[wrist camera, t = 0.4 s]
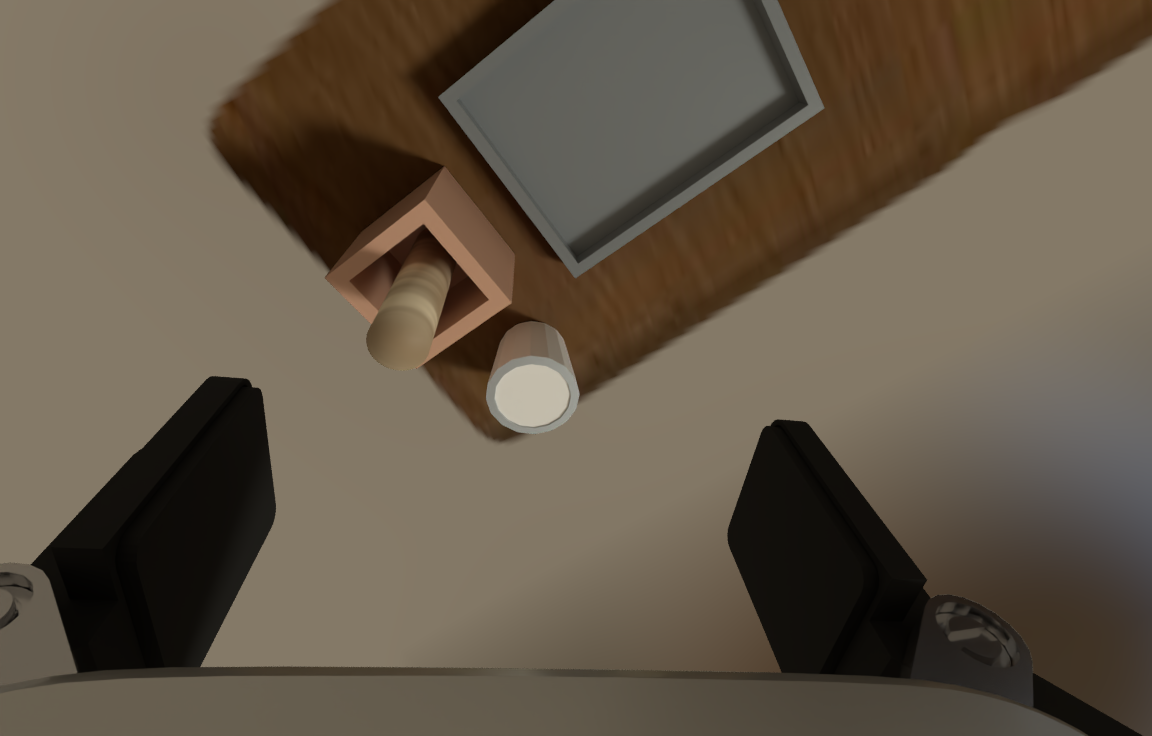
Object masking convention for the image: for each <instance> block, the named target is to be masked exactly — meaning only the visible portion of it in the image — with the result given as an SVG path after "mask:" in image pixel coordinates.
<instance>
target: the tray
mask: <svg viewBox="0 0 1152 736" xmlns="http://www.w3.org/2000/svg"><path fill="white" fill-rule="evenodd" d="M438 98H439V99H440V100H441V102H442V103H443V104H444V106H445V107H446V108H447V110H448V111H449V112H450V114H451V115H452V116H453V117H454V119H455V120H456V121H457V123H458V124H459V125H460V127H461V128H462V129H463V131H464V132H465V133H466V135H467V136H468V137H469V139H470V140H471V141H472V143H473V144H474V145H475V147H476V148H477V149H478V150H479V152H480V153H481V154H482V156H483V157H484V158H485V160H486V161H487V162H488V164H489V165H490V166H491V168H492V169H493V170H494V172H495V173H496V174H497V176H498V177H499V178H500V180H501V181H502V182H503V183H504V185H505V186H506V187H507V189H508V190H509V191H510V193H511V194H512V195H513V197H514V198H515V199H516V201H517V202H518V203H519V205H520V206H521V207H522V209H523V210H524V211H525V213H526V214H527V215H528V216H529V218H530V219H531V220H532V222H533V223H534V224H535V226H536V227H537V228H538V230H539V231H540V232H541V234H542V235H543V236H544V238H545V239H546V240H547V242H548V243H549V244H550V246H551V247H552V248H553V249H554V251H555V252H556V253H557V255H558V256H559V257H560V259H561V260H562V261H563V263H564V264H565V265H566V267H567V268H568V269H569V271H570V272H571V273H572V275H573V276H574V277H575V278H576V277H578V276H579V275H581V274H582V273H584V272H585V271H587V270H588V269H590V268H591V267H593V266H594V265H595V264H597V263H598V262H600V261H601V260H603V259H604V258H606V257H607V256H609V255H610V254H612V253H613V252H615V251H616V250H617V249H619V248H620V247H622V246H623V245H625V244H626V243H628V242H629V241H631V240H632V239H634V238H635V237H636V236H638V235H639V234H641V233H642V232H644V231H645V230H647V229H648V228H650V227H651V226H653V225H654V224H656V223H657V222H658V221H660V220H661V219H663V218H664V217H666V216H667V215H669V214H670V213H672V212H673V211H675V210H676V209H677V208H679V207H680V206H682V205H683V204H685V203H686V202H688V201H689V200H691V199H692V198H694V197H695V196H696V195H698V194H699V193H701V192H702V191H704V190H705V189H707V188H708V187H710V186H711V185H713V184H714V183H716V182H717V181H718V180H720V179H721V178H723V177H724V176H726V175H727V174H729V173H730V172H732V171H733V170H735V169H736V168H737V167H739V166H740V165H742V164H743V163H745V162H746V161H748V160H749V159H751V158H752V157H754V156H755V155H757V154H758V153H759V152H761V151H762V150H764V149H765V148H767V147H768V146H770V145H771V144H773V143H774V142H776V141H777V140H778V139H780V138H781V137H783V136H784V135H786V134H787V133H789V132H790V131H792V130H793V129H795V128H796V127H798V126H799V125H800V124H802V123H803V122H805V121H806V120H808V119H809V118H811V117H812V116H814V115H815V114H817V113H818V112H819V111H821V110H822V109H824V106H823V104H822V101H821V99H820V97H819V95H818V92H817V90H816V88H815V85H814V83H813V81H812V78H811V76H810V74H809V72H808V69H807V67H806V65H805V62H804V60H803V58H802V56H801V53H800V51H799V49H798V46H797V44H796V42H795V39H794V37H793V35H792V33H791V30H790V28H789V26H788V23H787V21H786V19H785V17H784V14H783V12H782V10H781V7H780V5H779V3H778V1H777V0H554V1H553V2H552V3H551V4H549V5H548V6H547V7H546V8H545V9H543V10H542V11H541V12H540V13H539V14H537V15H536V16H535V17H534V18H533V19H531V20H530V21H529V22H528V23H527V24H525V25H524V26H523V27H522V28H521V29H519V30H518V31H517V32H516V33H515V34H513V35H512V36H511V37H510V38H509V39H507V40H506V41H505V42H504V43H503V44H501V45H500V46H499V47H498V48H497V49H495V50H494V51H493V52H492V53H491V54H489V55H488V56H487V57H486V58H484V59H483V60H482V61H481V62H480V63H478V64H477V65H476V66H475V67H474V68H472V69H471V70H470V71H469V72H468V73H466V74H465V75H464V76H463V77H462V78H460V79H459V80H458V81H457V82H456V83H454V84H453V85H452V86H451V87H450V88H448V89H447V90H446V91H445V92H444V93H442V94H441V95H440V96H439V97H438Z"/></svg>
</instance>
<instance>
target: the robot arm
mask: <svg viewBox="0 0 1152 736" xmlns="http://www.w3.org/2000/svg"><path fill="white" fill-rule="evenodd" d="M275 512H276V503H275V494H274V487H273V478H272V470H271V462H270V454H269V446H268V438H267V429H266V420H265V412H264V404H263V396H262V392H261V390H260V389H259V388H253V387H252V385H251V383H250V381H249V380H248V379H243V378H230V377H216V376H212V377H209V378H208V379H206V381H205V382H204V383H203V384H202V385H201V386H200V387H199V388H198V389H197V390H196V391H195V393H194V394H193V395H192V396H191V397H190V398H189V399H188V400H187V401H186V402H185V403H184V404H183V405H182V406H181V407H180V409H179V410H178V411H177V412H176V413H175V414H174V415H173V416H172V417H171V418H170V419H169V420H168V421H167V423H166V424H165V425H164V426H163V427H162V428H161V429H160V430H159V431H158V432H157V433H156V434H155V435H154V437H153V438H152V439H151V440H150V441H149V442H148V443H147V444H146V445H145V446H144V448H142V449H141V450H139V451H138V452H137V453H135V454H134V455H133V456H132V457H131V458H130V459H129V460H128V461H127V462H126V463H125V464H124V466H123V467H122V468H121V469H120V470H119V471H118V472H117V473H116V474H115V475H114V476H113V477H112V478H111V479H110V481H109V482H108V483H107V484H106V485H105V486H104V487H103V488H102V489H101V490H100V491H99V492H98V493H97V494H96V495H95V497H94V498H93V499H92V500H91V501H90V502H89V503H88V504H87V505H86V506H85V507H84V508H83V509H82V511H80V513H79V514H78V515H77V516H76V517H75V518H74V519H73V520H72V521H71V522H70V523H69V524H68V525H67V527H66V528H65V529H64V530H63V531H62V532H61V533H60V534H59V535H58V536H57V537H56V538H55V539H54V540H53V541H52V542H51V543H50V545H49V546H48V547H47V548H46V549H45V550H44V551H43V552H42V553H41V554H40V555H39V556H38V557H37V558H36V560H35V561H34V562H33V563H32V564H31V565H29V564H19V563H4V564H0V736H1142V735H1141V734H1139V733H1137V732H1135V731H1134V730H1132V729H1130V728H1128V727H1126V726H1125V725H1123V724H1121V723H1120V722H1118V721H1116V720H1114V719H1113V718H1111V717H1109V716H1107V715H1106V714H1104V713H1102V712H1100V711H1099V710H1097V709H1095V708H1093V707H1092V706H1090V705H1088V704H1086V703H1084V702H1083V701H1081V700H1079V699H1077V698H1076V697H1074V696H1073V695H1071V694H1069V693H1067V692H1065V691H1064V690H1062V689H1060V688H1059V687H1057V686H1055V685H1053V684H1052V683H1050V682H1048V681H1046V680H1045V679H1043V678H1041V677H1039V676H1038V675H1036V674H1034V673H1033V662H1032V658H1031V654H1030V650H1029V649H1028V647H1027V645H1026V644H1025V642H1024V640H1023V639H1022V637H1021V636H1020V635H1019V634H1018V633H1017V632H1016V631H1015V630H1014V629H1013V628H1012V626H1011V625H1010V624H1008V623H1007V622H1006V621H1004V620H1003V619H1002V618H1001V617H1000V616H998V615H997V614H996V613H994V612H992V611H991V610H989V609H987V608H985V607H984V606H982V605H981V604H979V603H976V602H974V601H971V600H969V599H966V598H964V597H959V596H954V595H937V596H935V597H933V598H930V597H929V595H928V594H927V593H926V591H925V590H924V589H923V586H924V584H925V582H926V581H927V579H926V578H925V577H924V575H923V574H922V573H921V571H920V570H919V569H918V568H917V566H916V565H915V563H914V562H913V561H912V559H911V558H910V557H909V556H908V554H907V553H906V552H905V550H904V549H903V548H902V546H901V545H900V544H899V542H898V541H897V540H896V539H895V537H894V536H893V535H892V533H891V532H890V531H889V529H888V528H887V527H886V525H885V524H884V523H883V521H882V520H881V519H880V517H879V516H878V515H877V514H876V512H875V511H874V510H873V508H872V507H871V506H870V504H869V503H868V502H867V500H866V499H865V498H864V496H863V495H862V494H861V493H860V491H859V490H858V489H857V487H856V486H855V485H854V483H853V482H852V481H851V479H850V478H849V477H848V475H847V474H846V473H845V472H844V470H843V469H842V468H841V466H840V465H839V464H838V462H837V461H836V460H835V458H834V457H833V456H832V455H831V453H830V452H829V451H828V449H827V448H826V447H825V445H824V444H823V443H822V441H821V440H820V439H819V437H818V436H817V435H816V433H815V432H814V431H813V429H812V428H811V427H810V426H809V424H807V423H806V422H803V421H790V420H775V421H774V422H773V423H772V424H771V426H766V427H765V428H764V429H763V430H762V432H761V435H760V438H759V441H758V444H757V447H756V450H755V452H754V455H753V459H752V461H751V464H750V467H749V470H748V473H747V475H746V479H745V481H744V484H743V487H742V490H741V493H740V496H739V498H738V501H737V504H736V507H735V510H734V513H733V516H732V519H731V522H730V525H729V528H728V544H729V547H730V550H731V552H732V554H733V557H734V559H735V562H736V564H737V566H738V569H739V571H740V574H741V576H742V578H743V580H744V583H745V586H746V588H747V590H748V593H749V595H750V597H751V600H752V602H753V605H754V607H755V609H756V612H757V614H758V616H759V619H760V621H761V624H762V626H763V629H764V631H765V633H766V636H767V638H768V640H769V643H770V645H771V648H772V650H773V652H774V655H775V657H776V660H777V662H778V664H779V667H780V669H781V672H782V673H767V672H766V673H765V672H712V671H661V670H594V669H518V668H517V669H516V668H515V669H514V668H421V667H416V668H415V667H414V668H413V667H200V666H201V664H202V662H203V660H204V658H205V656H206V654H207V652H208V651H209V649H210V647H211V644H212V643H213V641H214V638H215V637H216V635H217V633H218V631H219V629H220V627H221V625H222V623H223V621H224V619H225V617H226V615H227V613H228V611H229V609H230V607H231V606H232V604H233V601H234V600H235V598H236V596H237V594H238V591H239V590H240V588H241V586H242V584H243V582H244V580H245V578H246V576H247V574H248V572H249V570H250V568H251V566H252V564H253V562H254V560H255V559H256V557H257V555H258V553H259V551H260V549H261V547H262V545H263V543H264V541H265V539H266V537H267V535H268V533H269V531H270V529H271V527H272V525H273V522H274V518H275Z"/></svg>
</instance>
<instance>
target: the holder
mask: <svg viewBox="0 0 1152 736" xmlns="http://www.w3.org/2000/svg"><path fill="white" fill-rule="evenodd" d="M426 228H428V229H429V231H430V232H431V233H432V234H433V235H434V236H435V238H436V239H437V240H438V241H439V242H440V243H441V244H442V246H443V247H444V248H445V249H446V250H447V251H448V253H449V254H450V255H451V256H452V257H453V258H454V260H455V261H456V262H457V263H456V266H455V270H454V273H453V276H452V279H451V283H450V286H449V289H448V292H447V296H446V299H445V302H444V305H443V309H442V312H441V315H440V318H439V322H438V325H437V328H436V332H435V335H434V338H433V341H432V345H431V348H430V351H429V354H428V356H427V358H426V360H425V361H424V362H423V363H422V364H421V365H423V364H424V363H425V362H427V361H428V360H430V359H431V358H433V357H434V356H436V355H437V354H438V353H440V352H441V351H443V350H444V349H446V348H447V347H449V346H450V345H451V344H453V343H454V342H456V341H457V340H459V339H460V338H462V337H463V336H464V335H466V334H467V333H469V332H470V331H472V330H473V329H475V328H476V327H477V326H479V325H480V324H482V323H483V322H485V321H486V320H488V319H489V318H490V317H492V316H493V315H495V314H496V313H498V312H499V311H501V310H502V309H503V308H505V307H506V306H508V305H509V304H511V303H512V290H513V276H514V261H515V254H514V253H513V251H512V250H511V249H510V248H509V246H508V245H507V244H506V243H505V241H504V240H503V239H502V237H501V236H500V235H499V234H498V232H497V231H496V230H495V229H494V227H493V226H492V225H491V224H490V222H489V221H488V220H487V219H486V217H485V216H484V215H483V214H482V212H481V211H480V210H479V209H478V207H477V206H476V205H475V204H474V202H473V201H472V200H471V199H470V197H469V196H468V195H467V194H466V192H465V191H464V190H463V189H462V187H461V186H460V185H459V184H458V182H457V181H456V180H455V179H454V177H453V176H452V175H451V174H450V172H449V171H448V170H447V169H446V167H445V166H444V167H443V168H441V169H440V170H439V171H438V172H436V173H435V174H434V175H433V176H431V177H430V178H429V179H428V180H426V181H425V182H424V183H422V184H421V185H420V186H419V187H417V188H416V189H415V190H414V191H412V192H411V193H410V194H409V195H407V196H406V197H405V198H404V199H402V200H401V201H400V202H398V203H397V204H396V205H395V206H393V207H392V208H391V209H390V210H388V211H387V212H386V213H385V214H383V215H382V216H381V217H380V218H378V219H377V220H376V221H374V222H373V223H372V224H371V225H369V226H368V227H367V228H366V229H364V230H363V231H362V232H361V233H360V234H359V235H358V237H357V238H356V239H355V240H354V242H353V243H352V244H351V245H350V247H349V248H348V249H347V250H346V252H345V253H344V254H343V255H342V257H341V258H340V259H339V260H338V262H337V263H336V264H335V265H334V267H333V268H332V269H331V270H330V272H329V273H328V274H327V275H326V277H325V279H326V280H327V281H328V282H330V284H331V285H332V286H333V287H334V288H335V289H336V290H337V291H338V292H339V293H341V295H342V296H343V297H344V298H345V299H346V300H347V301H348V302H349V303H350V304H351V305H353V307H355V309H356V310H357V311H359V313H360V314H362V315H363V316H364V317H365V318H366V319H367V320H368V321H369V322H370V323H371V324H372V323H373V321H374V319H375V317H376V315H377V313H378V311H379V309H380V307H381V305H382V304H383V302H384V300H385V298H386V296H387V294H388V292H389V290H390V288H391V286H392V284H393V283H394V281H395V279H396V277H397V275H398V273H399V271H400V269H401V267H402V265H403V263H404V262H405V260H406V258H407V256H408V254H409V252H410V250H411V248H412V246H413V244H414V242H415V241H416V239H417V237H418V235H419V234H420V233H421V232H422V231H423V230H424V229H426ZM421 365H419V366H418V367H420V366H421ZM418 367H416V369H417V368H418Z"/></svg>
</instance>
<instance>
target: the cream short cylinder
mask: <svg viewBox="0 0 1152 736" xmlns="http://www.w3.org/2000/svg"><path fill="white" fill-rule="evenodd" d="M578 398H579V390H578V386H577V382H576V379H575V375H574V372H573V369H572V365H571V362H570V359H569V355H568V352H567V349H566V346H565V342H564V339H563V338H562V336H561V335H560V334H559V333H558V331H557V330H556V329H555V328H553V327H551V326H549V325H547V324H545V323H542V322H534V321H529V322H524V323H520V324H517V325H515V326H514V327H512V328H511V329H509V330H508V331H507V332H506V333H505V335H504V336H503V338H502V340H501V341H500V344H499V348H498V351H497V354H496V358H495V361H494V364H493V368H492V371H491V374H490V378H489V381H488V386H487V394H486V400H487V403H488V406H489V409H490V412H491V414H492V415H493V416H494V417H495V418H496V419H497V420H498V421H499V422H500V423H501V424H502V425H504V426H506V427H508V428H510V429H512V430H514V431H516V432H522V433H531V434H537V433H542V432H547V431H551V430H553V429H555V428H557V427H559V426H560V425H562V424H564V423H565V422H566V421H567V420H568V419H569V418H570V416H571V415H572V414H573V412H574V411H575V410H576V407H577V403H578Z"/></svg>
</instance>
